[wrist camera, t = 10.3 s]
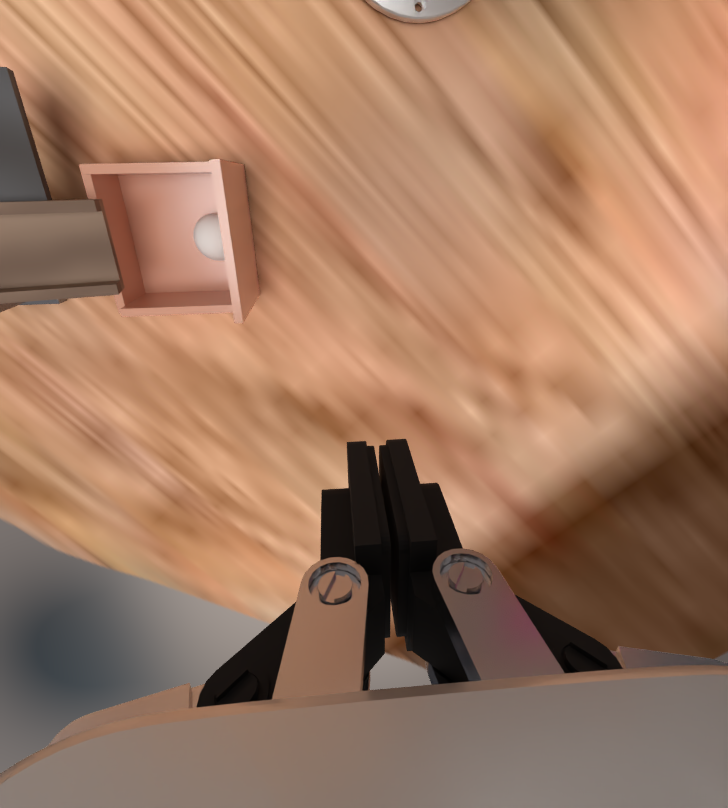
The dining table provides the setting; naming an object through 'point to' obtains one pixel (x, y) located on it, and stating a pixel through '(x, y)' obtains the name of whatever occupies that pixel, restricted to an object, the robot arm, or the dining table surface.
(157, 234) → the cup
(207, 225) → the ball
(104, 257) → the lever
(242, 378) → the dining table surface
